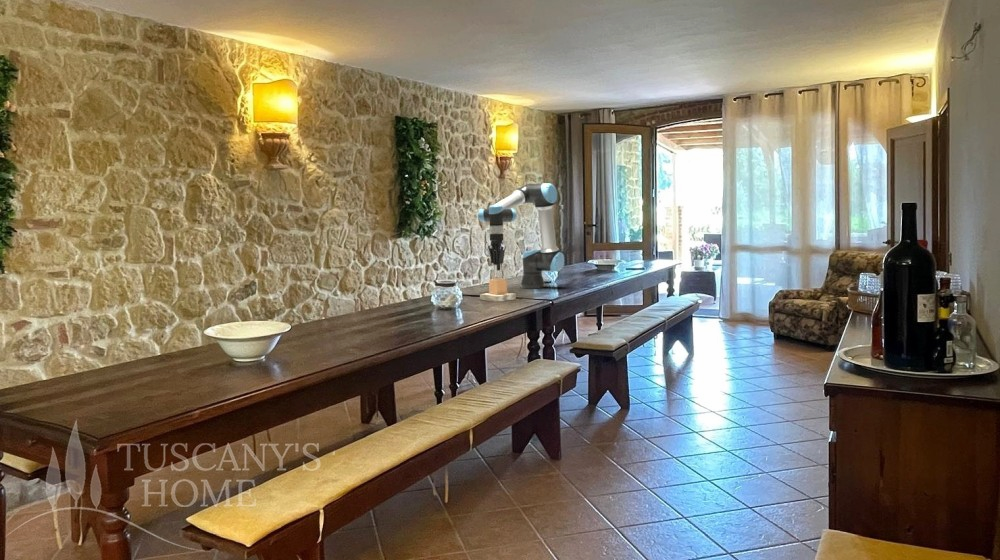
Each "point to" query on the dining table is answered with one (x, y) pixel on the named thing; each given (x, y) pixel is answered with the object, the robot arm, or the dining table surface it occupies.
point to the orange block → (498, 286)
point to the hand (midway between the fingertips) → (497, 276)
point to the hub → (498, 297)
